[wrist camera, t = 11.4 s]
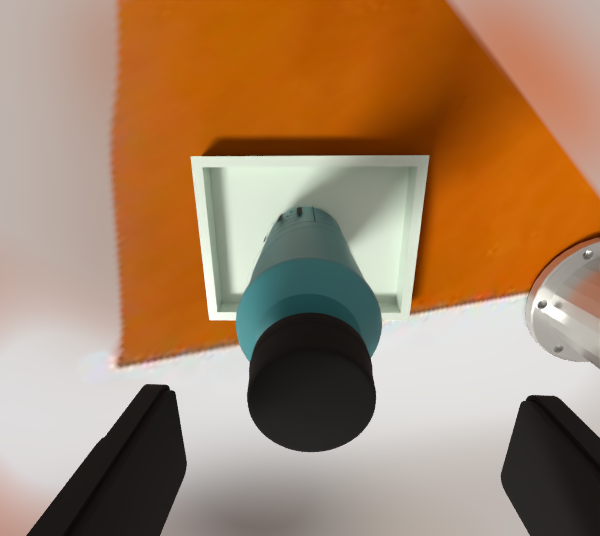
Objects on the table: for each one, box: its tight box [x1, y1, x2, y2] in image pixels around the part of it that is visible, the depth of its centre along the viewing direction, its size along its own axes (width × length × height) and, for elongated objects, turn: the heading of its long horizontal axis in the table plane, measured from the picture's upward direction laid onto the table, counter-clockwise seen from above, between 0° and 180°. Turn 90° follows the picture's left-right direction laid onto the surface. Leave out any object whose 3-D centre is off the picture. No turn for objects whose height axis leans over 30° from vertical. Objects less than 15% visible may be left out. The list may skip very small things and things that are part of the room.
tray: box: [191, 155, 429, 321], centre depth 27 cm, size 18×14×2 cm
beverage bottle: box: [236, 206, 382, 452], centre depth 18 cm, size 6×7×20 cm
